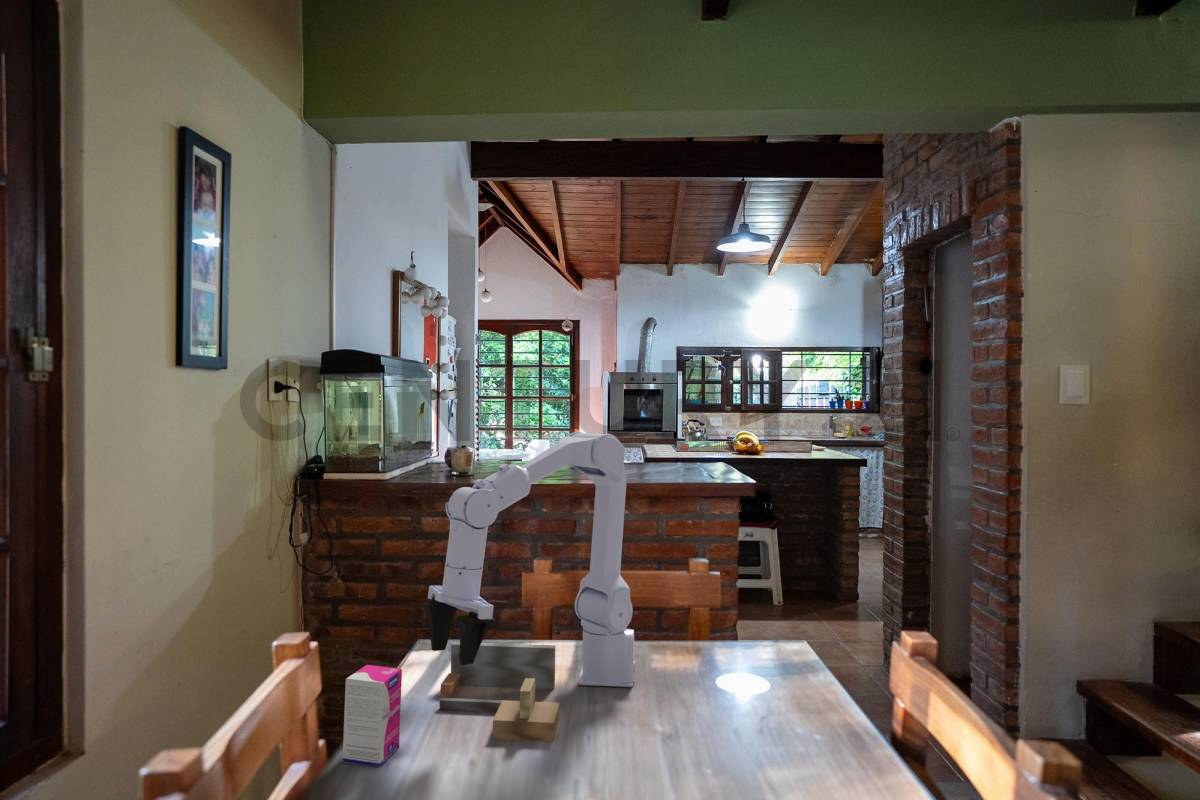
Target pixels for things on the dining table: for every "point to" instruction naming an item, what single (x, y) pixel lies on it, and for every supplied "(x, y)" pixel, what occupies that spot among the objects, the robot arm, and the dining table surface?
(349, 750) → the supplement box
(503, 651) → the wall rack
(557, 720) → the tan box with handle
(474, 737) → the dining table surface
